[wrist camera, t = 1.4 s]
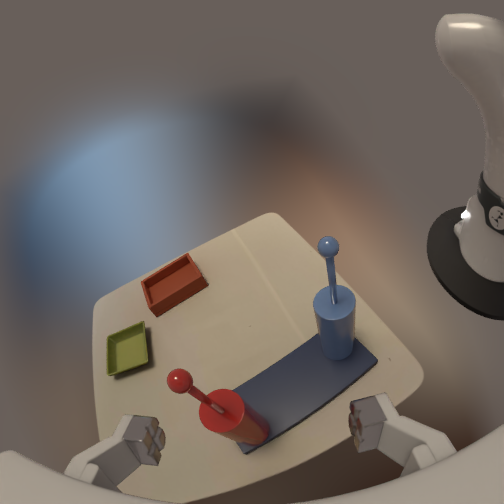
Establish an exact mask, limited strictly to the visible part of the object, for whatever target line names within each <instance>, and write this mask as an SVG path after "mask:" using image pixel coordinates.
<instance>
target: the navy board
mask: <svg viewBox="0 0 504 504" xmlns="http://www.w3.org/2000/svg"><path fill="white" fill-rule="evenodd" d="M377 362H378V359H377V358H376V357H375V356H374V355H373V354H372V353H371V352H370V351H368V350H367V349H366V348H365V347H364V346H363V345H362V344H361V343H360V342H359V341H358V340H357V339H356V338H354V349H353V351H352V353H351V354H350V355H349V356H348V357H346V358H344V359H342V360H331V359H329V358H327V357H326V356H325V355H324V354H323V353H322V350H321V345H320V339H319V334H316V335H315V336H314V337H312V338H311V339H309V340H308V341H307V342H305V343H304V344H303V345H301V346H300V347H298V348H297V349H295V350H294V351H293V352H291V353H290V354H288V355H287V356H285V357H284V358H282V359H281V360H279V361H278V362H276V363H275V364H273V365H272V366H270V367H269V368H267V369H266V370H264V371H263V372H261V373H260V374H258V375H256V376H255V377H253V378H252V379H250V380H248V381H247V382H245V383H244V384H242V385H240V386H239V387H237V388H235V389H234V390H232V391H234V392H236V393H237V394H238V395H239V396H240V397H242V398H243V399H244V400H245V401H246V402H247V403H248V404H249V405H251V406H252V407H253V408H254V409H255V410H256V411H257V412H259V413H260V414H261V415H262V416H263V417H265V418H266V420H267V421H268V423H269V426H270V432H269V435H268V437H267V439H266V440H265V441H264V442H263V443H261V444H259V445H256V446H247V445H244V444H241V443H239V442H237V444H238V446H239V447H240V449H241V450H242V452H243V454H248V453H250V452H252V451H254V450H255V449H257V448H259V447H261V446H263V445H264V444H266V443H268V442H270V441H271V440H273V439H275V438H276V437H278V436H280V435H281V434H283V433H284V432H286V431H288V430H289V429H291V428H292V427H294V426H295V425H297V424H298V423H300V422H301V421H303V420H304V419H306V418H307V417H309V416H310V415H312V414H313V413H315V412H316V411H317V410H319V409H320V408H322V407H323V406H324V405H326V404H327V403H328V402H330V401H331V400H332V399H334V398H335V397H336V396H338V395H339V394H340V393H342V392H343V391H344V390H345V389H347V388H348V387H349V386H350V385H352V384H353V383H354V382H355V381H357V380H358V379H359V378H360V377H361V376H363V375H364V374H365V373H366V372H367V371H368V370H370V369H371V368H372V367H373V366H374V365H375V364H376V363H377Z"/></svg>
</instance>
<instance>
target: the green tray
mask: <svg viewBox="0 0 504 504" xmlns="http://www.w3.org/2000/svg"><path fill="white" fill-rule="evenodd" d="M146 363H148V353H147V344H146V334H145V324H144V321H142V322H139V323H137V324H134V325H132V326H130V327H128V328H126V329H123V330H121V331H119V332H116V333H114V334H111V335H109V336H108V337H107V375H108V376H112V375H116V374H119V373H122V372H124V371H127V370H130V369H133V368H135V367H138V366H141V365H144V364H146Z"/></svg>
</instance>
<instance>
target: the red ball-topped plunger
mask: <svg viewBox="0 0 504 504" xmlns="http://www.w3.org/2000/svg"><path fill="white" fill-rule="evenodd" d="M167 384H168V386H169V388H170V389H171V390H172V391H173V392H175V393H178V394H183V393H186V392H188V393H189V394H190V395H192V396H193V397H195V398H196V399H198V400H199V401H201V405H200V408H199V416H200V420H201V422H202V424H203V425H204V426H205V427H206V428H207V429H209V430H211V431H213V432H215V433H217V434H220V435H222V436H224V437H226V438H229V439H231V440H234V441H236V442H239V443H241V444H244V445H247V446H256V445H259V444H261V443H263V442H264V441H265V440H266V439H267V437H268V435H269V432H270V426H269V423H268V421H267V420H266V418H265V417H263V416H262V415H261V414H260V413H259V412H257V411H256V410H255V409H254V408H253V407H252V406H251V405H249V404H248V403H247V402H246V401H245V400H244V399H243V398H242V397H240V396H239V395H238V394H237V393H236V392H234V391H232V390H228V389H219V390H215V391H213V392H211V393H209V394H208V395H205V394H204V393H203V392H201V391H200V390H199V389H197V388H196V387H195V386H193V378H192V376H191V374H190V373H189V372H188V371H186V370H184V369H174V370H172V371H171V372H170V373H169V375H168V377H167Z"/></svg>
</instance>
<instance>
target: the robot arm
mask: <svg viewBox="0 0 504 504" xmlns="http://www.w3.org/2000/svg"><path fill="white" fill-rule="evenodd" d="M435 42H436V48H437V51H438V54H439V57H440V58H441V61H442V63H443V64H444V66H445V67H446V69H447V70H448V71H449V72H450V74H451V75H452V76H453V77H454V78H455V79H457V80H458V81H459V82H460V83H461V84H462V85H463V86H464V87H465V88H466V89H467V90H468V92H469V93H470V94H471V96H472V97H473V99H474V101H475V102H476V104H477V106H478V108H479V110H480V112H481V115H482V119H483V122H484V127H485V135H486V136H485V137H486V149H485V162H484V170H483V171H482V172H481V175H480V179H479V182H478V191H477V194H476V195H474V196H472V197H471V198H469V200H468V204H467V207H466V211H465V212H463V213H462V216H461V218H463V220H461V221H460V222H458V223H457V224H455V226H454V233H455V235H456V236H457V238H458V239H459V244H460V250H461V253H462V256H463V258H464V259H465V261H466V262H467V264H468V265H469V266H470V267H471V268H472V269H473V270H474V271H475V272H476V273H478V274H479V275H480V276H482V277H484V278H486V279H488V280H490V281H494V282H499V283H504V21H503V20H499V19H495V18H491V17H487V16H483V15H477V14H447V15H444V16H443V17H442V19H441V20H440V21H439V23H438V26H437V28H436V33H435ZM350 410H351V413H350V414H349V428H350V432H351V434H352V435H353V436H355V438H354V443H355V446H356V449H357V452H358V453H360V452H364V451H368V450H371V449H375V448H377V449H378V450H380V451H381V452H382V453H384V454H385V455H387V456H388V457H390V458H391V459H393V460H394V461H395V462H397V463H399V464H400V465H402V466H403V467H404V469H403V471H402V473H401V475H400V477H399V478H397V479H395V480H392V481H389V482H386V483H383V484H380V485H377V486H373V487H370V488H366V489H363V490H359V491H355V492H351V493H347V494H343V495H338V496H334V497H329V498H324V499H318V500H312V501H306V502H298V503H290V504H504V424H502V425H501V426H500V427H498V428H496V429H495V430H494V431H492V432H490V433H489V434H487V435H486V436H484V437H482V438H481V439H479V440H478V441H476V442H475V443H472V444H471V445H469V446H467V447H466V448H464V449H462V450H460V451H458V452H457V451H456V450H455V448H454V447H453V445H452V444H451V442H450V440H449V439H448V438H447V436H446V434H445V433H443V432H440V431H438V430H435V429H433V428H430V427H428V426H426V425H423V424H421V423H418V422H416V421H414V420H412V419H410V418H407V417H405V416H399V414H398V413H397V411H396V409H395V407H394V405H393V404H392V402H391V400H390V399H389V397H388V395H387V394H386V393H385V392H384V393H381V394H377V395H374V396H370V397H366V398H362V399H358V400H354V401H351V402H350ZM158 425H159V421H158V420H157V418H155V417H148V416H139V415H129V414H125V415H123V417H122V418H121V420H120V422H119V424H118V426H117V428H116V429H115V431H114V433H113V435H112V437H108V438H106V439H104V440H102V441H101V442H99V443H97V444H96V445H94V446H92V447H90V448H89V449H87V450H85V451H83V452H82V453H80V454H78V455H76V456H74V457H73V458H72V460H71V462H70V463H69V465H68V467H67V468H66V470H65V472H64V473H63V474H62V473H59V472H57V471H55V470H52V469H50V468H48V467H46V466H43V465H41V464H39V463H37V462H35V461H32V460H31V459H29V458H27V457H25V456H23V455H21V454H19V453H18V452H15V451H12V450H9V451H5V452H1V453H0V504H181V503H173V502H166V501H159V500H153V499H148V498H143V497H138V496H133V495H129V494H124V493H122V492H121V491H120V490H119V489H118V488H117V485H118V484H119V483H121V482H122V481H123V480H124V479H125V478H127V477H128V476H129V475H130V474H131V473H132V472H133V471H135V470H136V469H137V468H138V467H139V466H140V465H141V464H146V465H155V466H158V464H159V461H160V458H161V453H160V451H161V450H162V449H163V448H164V446H165V438H166V437H165V433H164V431H163V429H161V428H160V427H159V426H158Z"/></svg>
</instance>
